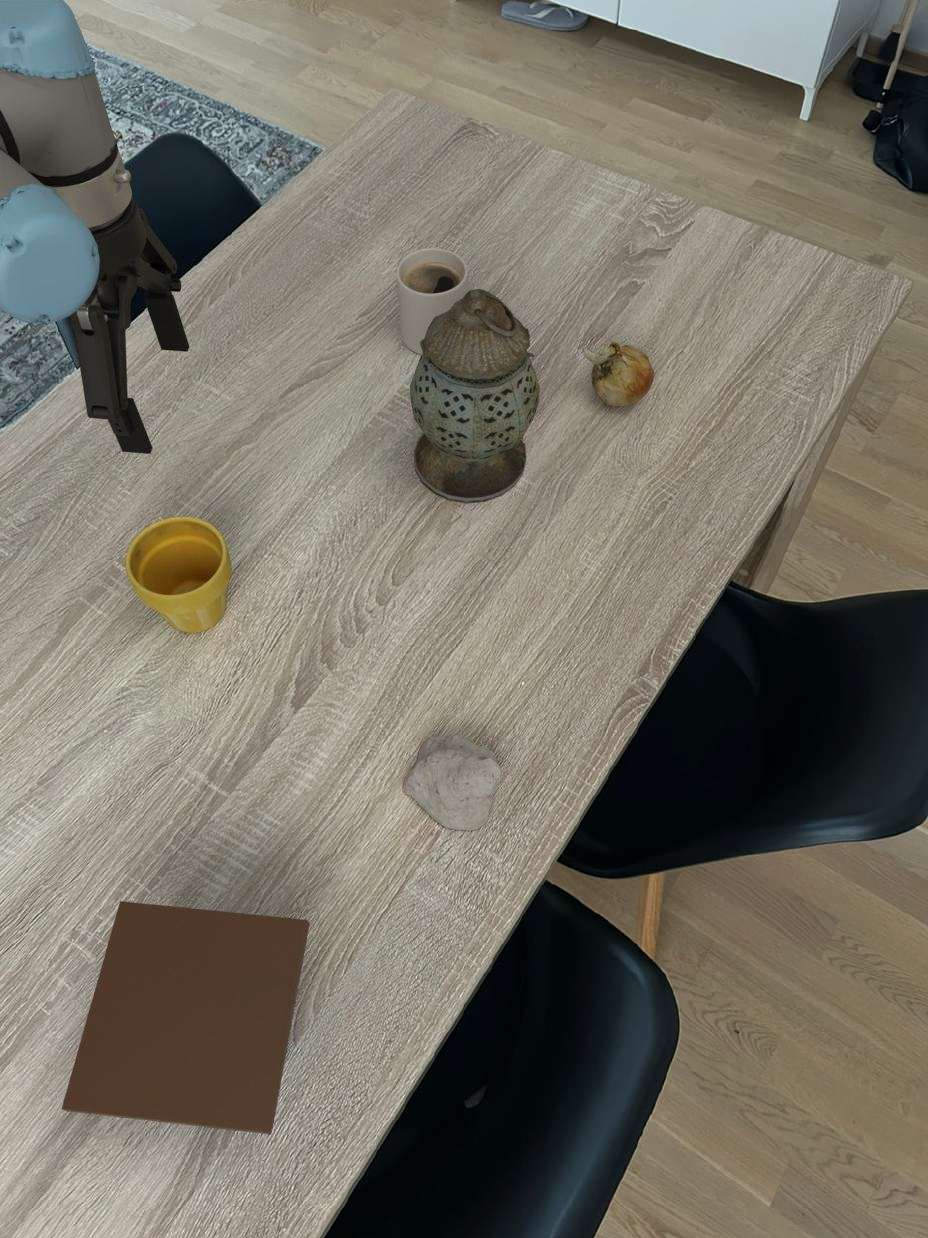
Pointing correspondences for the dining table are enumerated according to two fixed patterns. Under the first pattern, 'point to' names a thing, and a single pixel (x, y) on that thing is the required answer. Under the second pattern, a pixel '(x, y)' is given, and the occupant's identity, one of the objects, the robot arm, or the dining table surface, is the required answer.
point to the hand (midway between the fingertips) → (157, 397)
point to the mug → (427, 290)
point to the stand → (190, 1018)
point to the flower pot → (181, 571)
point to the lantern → (473, 400)
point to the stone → (454, 781)
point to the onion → (620, 374)
